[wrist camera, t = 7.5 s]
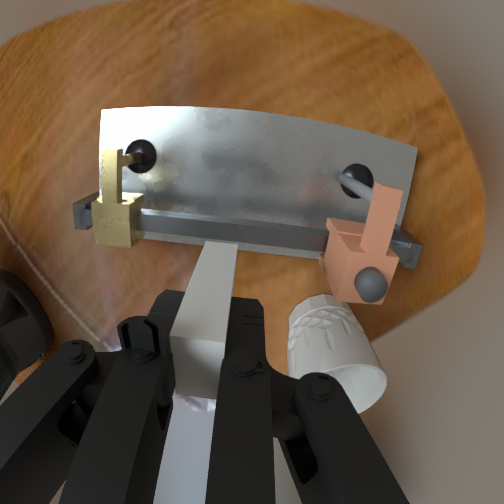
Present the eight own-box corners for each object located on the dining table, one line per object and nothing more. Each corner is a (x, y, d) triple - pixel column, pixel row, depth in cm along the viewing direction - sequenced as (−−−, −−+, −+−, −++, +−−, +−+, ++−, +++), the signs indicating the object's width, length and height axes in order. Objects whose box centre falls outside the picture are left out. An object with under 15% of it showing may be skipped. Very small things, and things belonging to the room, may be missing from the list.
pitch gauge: (109, 228, 24) (71, 258, 18) (110, 110, 19) (64, 109, 13) (381, 260, 24) (411, 298, 18) (409, 146, 20) (454, 155, 14)
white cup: (305, 276, 25) (326, 354, 16) (370, 302, 26) (406, 373, 17) (269, 335, 28) (271, 414, 19) (330, 354, 29) (347, 426, 20)
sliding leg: (311, 244, 22) (338, 313, 13) (326, 162, 19) (374, 186, 11) (345, 248, 22) (387, 316, 14) (363, 169, 19) (427, 200, 11)
